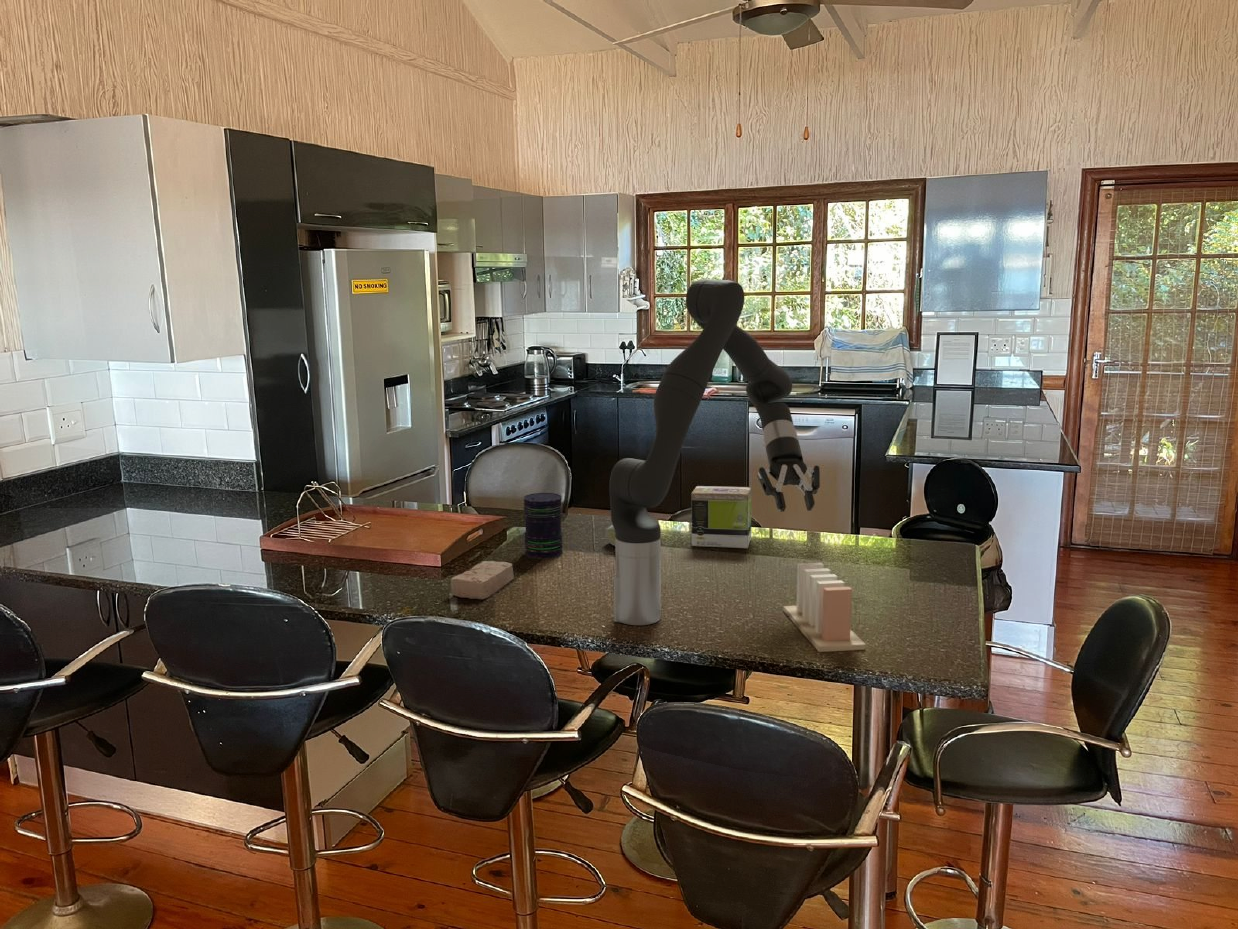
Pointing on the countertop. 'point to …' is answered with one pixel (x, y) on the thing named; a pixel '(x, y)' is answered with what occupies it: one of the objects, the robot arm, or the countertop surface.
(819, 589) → the tile
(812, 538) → the countertop surface
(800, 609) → the tile
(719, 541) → the tea box
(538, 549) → the storage jar
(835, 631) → the tile
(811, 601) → the tile
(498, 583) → the brick
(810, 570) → the tile
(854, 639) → the domino board
